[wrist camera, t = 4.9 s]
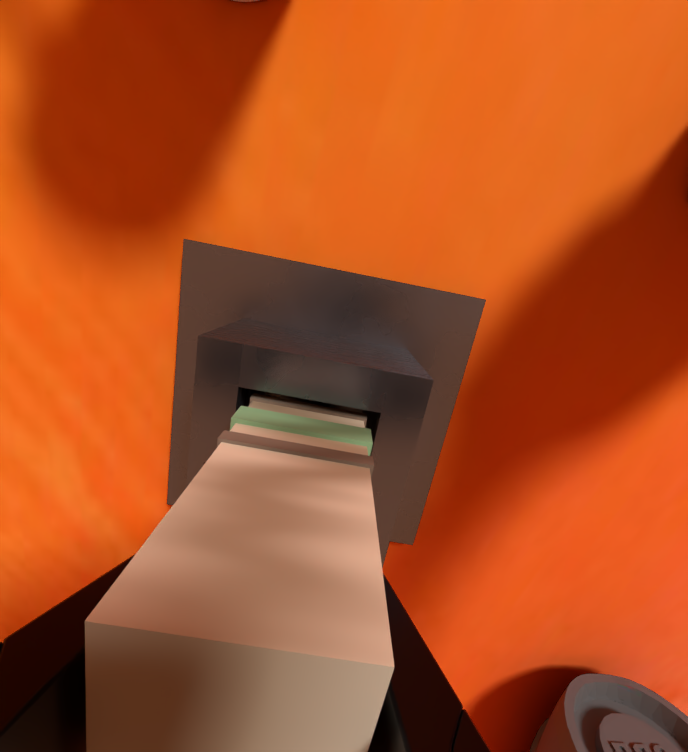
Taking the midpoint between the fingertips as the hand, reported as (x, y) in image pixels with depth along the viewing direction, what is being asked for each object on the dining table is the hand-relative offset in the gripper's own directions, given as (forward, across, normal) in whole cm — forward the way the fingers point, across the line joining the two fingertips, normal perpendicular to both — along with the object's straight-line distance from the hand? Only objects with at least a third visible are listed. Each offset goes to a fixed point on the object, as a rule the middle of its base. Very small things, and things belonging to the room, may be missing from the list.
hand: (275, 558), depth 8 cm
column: (+5, 0, 0) cm, 5 cm away
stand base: (+10, 0, 0) cm, 10 cm away
